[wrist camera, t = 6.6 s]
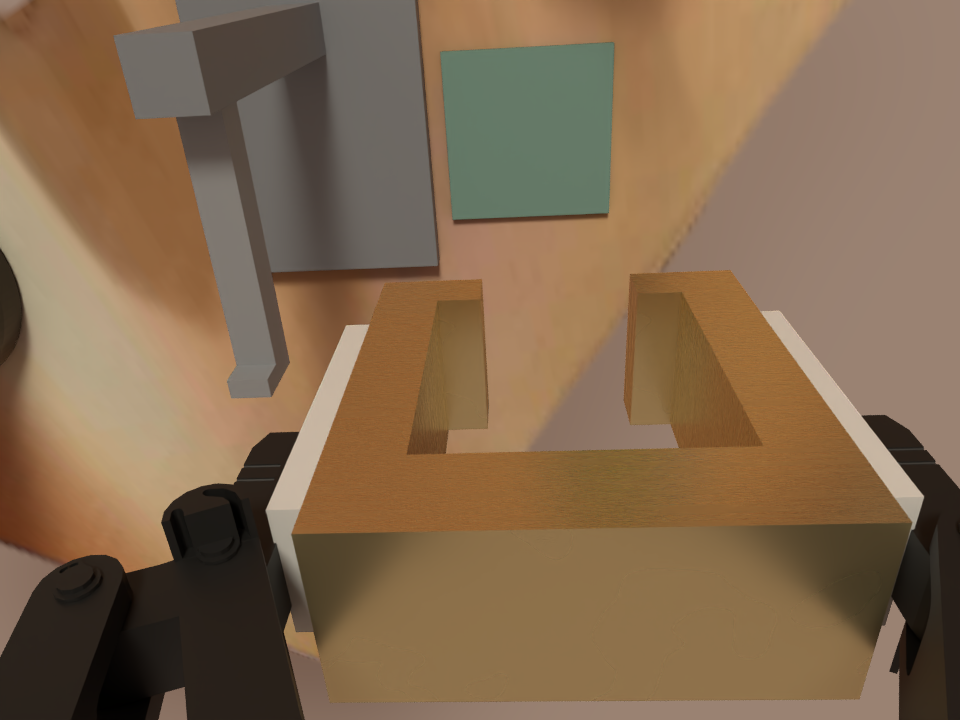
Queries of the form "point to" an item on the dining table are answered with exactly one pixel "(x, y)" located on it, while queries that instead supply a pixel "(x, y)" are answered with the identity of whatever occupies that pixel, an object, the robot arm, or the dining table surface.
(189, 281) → the dining table surface
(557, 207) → the mat
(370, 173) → the stand
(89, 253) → the dining table surface
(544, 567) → the c link
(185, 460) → the dining table surface
